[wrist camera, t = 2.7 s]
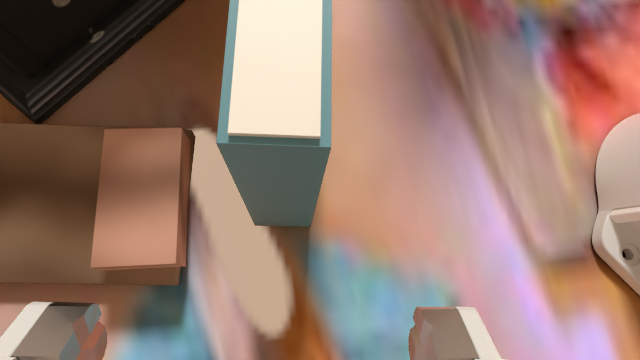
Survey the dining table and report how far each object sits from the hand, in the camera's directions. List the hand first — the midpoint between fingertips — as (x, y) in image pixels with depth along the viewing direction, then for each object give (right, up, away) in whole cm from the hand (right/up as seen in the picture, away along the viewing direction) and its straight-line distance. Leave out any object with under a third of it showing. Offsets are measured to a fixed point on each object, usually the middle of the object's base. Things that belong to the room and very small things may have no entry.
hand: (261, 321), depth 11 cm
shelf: (-16, +2, +18) cm, 24 cm away
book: (-1, +6, +21) cm, 21 cm away
